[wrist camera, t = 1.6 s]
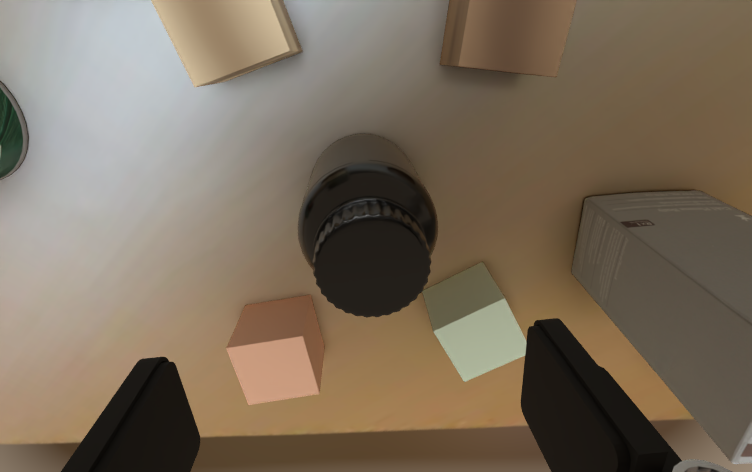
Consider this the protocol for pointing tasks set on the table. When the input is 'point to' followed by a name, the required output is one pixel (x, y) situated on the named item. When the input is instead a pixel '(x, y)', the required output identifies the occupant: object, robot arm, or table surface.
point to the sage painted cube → (474, 322)
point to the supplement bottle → (367, 226)
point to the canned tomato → (11, 134)
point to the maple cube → (227, 36)
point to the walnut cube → (507, 35)
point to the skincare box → (679, 298)
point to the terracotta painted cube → (278, 350)
